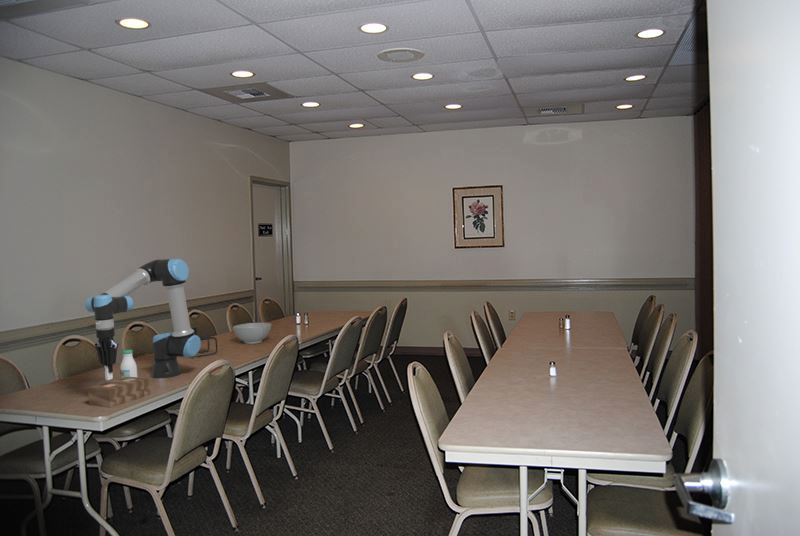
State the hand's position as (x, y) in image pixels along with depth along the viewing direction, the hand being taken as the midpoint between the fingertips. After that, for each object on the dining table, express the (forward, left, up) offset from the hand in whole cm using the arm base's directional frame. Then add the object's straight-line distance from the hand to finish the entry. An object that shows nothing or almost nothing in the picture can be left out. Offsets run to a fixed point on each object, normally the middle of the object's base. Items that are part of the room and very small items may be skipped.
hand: (109, 379), depth 274 cm
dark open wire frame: (-101, -41, -11) cm, 110 cm away
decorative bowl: (-148, -37, -11) cm, 153 cm away
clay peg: (0, 0, -11) cm, 11 cm away
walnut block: (-5, 0, -11) cm, 12 cm away
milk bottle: (-20, -11, -11) cm, 26 cm away
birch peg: (-11, 0, -11) cm, 15 cm away
